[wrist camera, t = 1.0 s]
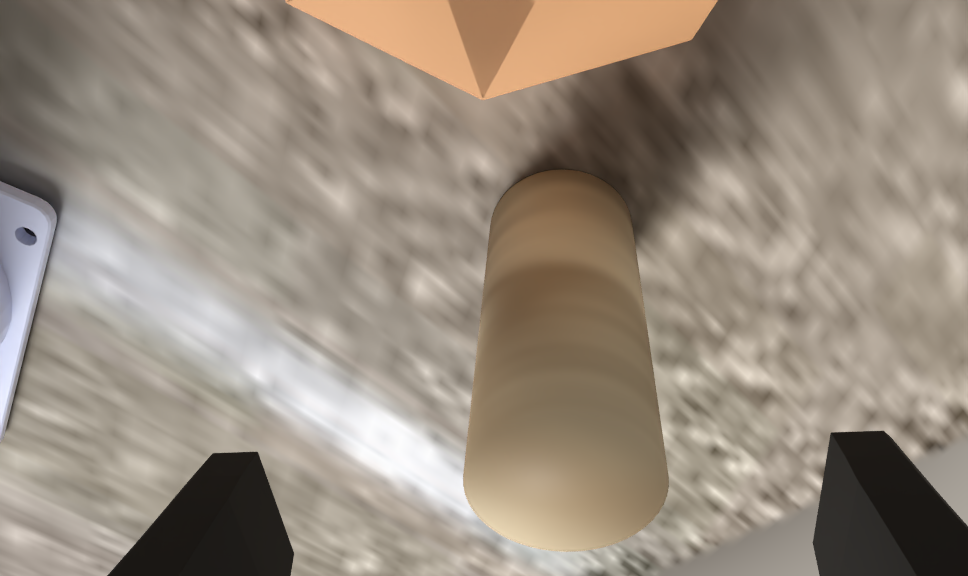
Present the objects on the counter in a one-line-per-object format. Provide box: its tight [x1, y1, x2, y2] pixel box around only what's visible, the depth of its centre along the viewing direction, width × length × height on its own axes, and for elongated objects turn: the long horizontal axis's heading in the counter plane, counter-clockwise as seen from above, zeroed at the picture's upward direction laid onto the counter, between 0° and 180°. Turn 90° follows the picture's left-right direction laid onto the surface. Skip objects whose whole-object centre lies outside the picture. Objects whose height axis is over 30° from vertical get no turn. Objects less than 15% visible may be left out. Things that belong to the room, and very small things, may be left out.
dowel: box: [463, 169, 669, 552], centre depth 18 cm, size 3×3×8 cm
